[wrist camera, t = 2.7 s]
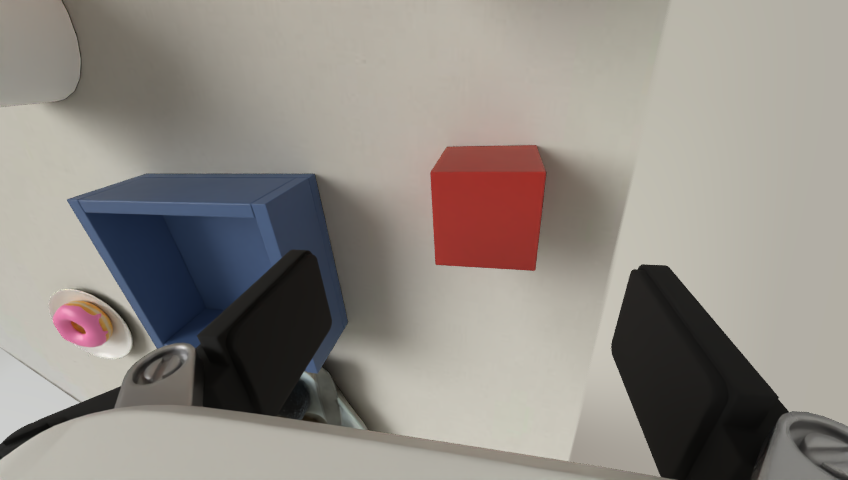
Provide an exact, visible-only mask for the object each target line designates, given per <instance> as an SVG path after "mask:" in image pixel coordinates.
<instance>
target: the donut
mask: <svg viewBox="0 0 848 480" xmlns="http://www.w3.org/2000/svg"><path fill="white" fill-rule="evenodd" d="M48 308H49V313H50V316H51V318H52V320H53V323H54V325H55V327H56V328H57V330H58V331H59V333H60V334H61V336H62V337H63V338H64V339H66V340H67V341H70V342H72V343H73V344H74V345H76V346H77V347H79V348H80V349H82V350H84V351H86V352H88V353H89V354H90V355H91V354H92V355H95V356H97V357H101V358H105V359H119V358H123V357H125V356H126V355H128V354H129V352H130V351H131V349H132V345H133V343H132V336H131V332H130V330H129V328H128V326H127V325H126V323H125V322H124V320H123V319H122V318H121V316H120V315H119V314H118V313H117V312H116V311H115V310H114V309H113V308H112V307H110V306H109V305H108V304H106V303H105V302H104V301H102V300H100V299H99V298H97V297H95V296H93V295H91V294H88V293H86V292H83V291H79V290H75V289H62V290H59V291H56V292H55V293H54V294H53V295H52V296H51V297H50V299H49V304H48ZM90 355H88V356H90Z"/></svg>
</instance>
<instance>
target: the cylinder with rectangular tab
mask: <svg viewBox="0 0 848 480" xmlns="http://www.w3.org/2000/svg"><path fill="white" fill-rule="evenodd" d="M80 67H81V58H80V52H79V46H78V41H77V37H76V34H75V31H74V28H73V26H72V23H71V20H70V17H69V14H68V12H67V10H66V8H65V7H64V5H63V3H62V1H61V0H0V107H6V106H17V105H27V104H37V103H47V102H54V101H59V100H64V99H66V98H67V97H68V96H69V95H70V94H72V93H73V92H74V91H75V88H76V86H77V84H78V81H79V79H80Z"/></svg>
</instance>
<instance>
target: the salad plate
mask: <svg viewBox="0 0 848 480" xmlns="http://www.w3.org/2000/svg"><path fill="white" fill-rule="evenodd" d="M276 417H282V418H288V419H295V420H302V421H309V422H316V423H322V424H329V425H336V426H343V427H350V428H356V429H363V430H368V429H367V427H366V426H365V424H364V422H363V421H362V420H361V419H360V417H359V416H358V415H357V414H356V412H355V411H354V410H353V408H352V407H351V406H350V404H349V403H348V402H347V400H346V399H345V398H344V396H343V395H342V393H341V392H340V390H339V389H338V387H337V385H336V384H335V382H334V381H333V379H332V377H331V375H330V373H328V372H327V371H326V370H325V369H324V368H323V367H321V369H320V371H319V372H318V374H317V373H309V372H307V371H306V372H305V371H304V373H303V374H302V376H301V377H300V379H299V381H298V382H297V384H296V385H295V387H294V389H293V390H292V392H291V393H290V395H289V397H288V398H287V400H286V402H285V403H284V405H283V406H282V408H281V410H280V411H279V413H278V414H277V416H276Z"/></svg>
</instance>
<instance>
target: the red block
mask: <svg viewBox="0 0 848 480" xmlns="http://www.w3.org/2000/svg"><path fill="white" fill-rule="evenodd" d="M545 180H546V171H545V168H544V165H543V162H542V160H541V157H540V154H539V151H538V149H537V146H536V145H522V146H464V147H446V149H445V151H444V152H443V154H442V155H441V157H440V158H439V160H438V161H437V163H436V165H435V166H434V168H433V169H432V171H431V191H432V209H433V227H434V245H435V263H436V265H448V266H465V267H481V268H498V269H515V270H532V271H535V269H536V260H537V251H538V242H539V233H540V224H541V216H542V207H543V198H544V189H545Z"/></svg>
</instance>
